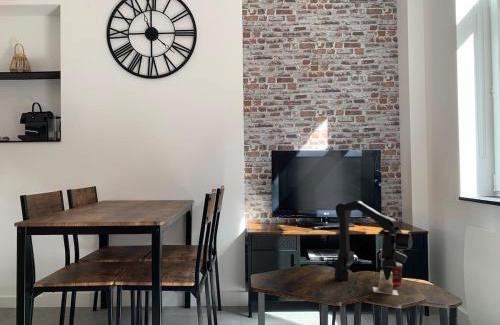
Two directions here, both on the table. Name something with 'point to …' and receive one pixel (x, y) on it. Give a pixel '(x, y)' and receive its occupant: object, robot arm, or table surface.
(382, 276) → the oak cube
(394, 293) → the build mat
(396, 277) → the canned food
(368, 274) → the table surface
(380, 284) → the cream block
